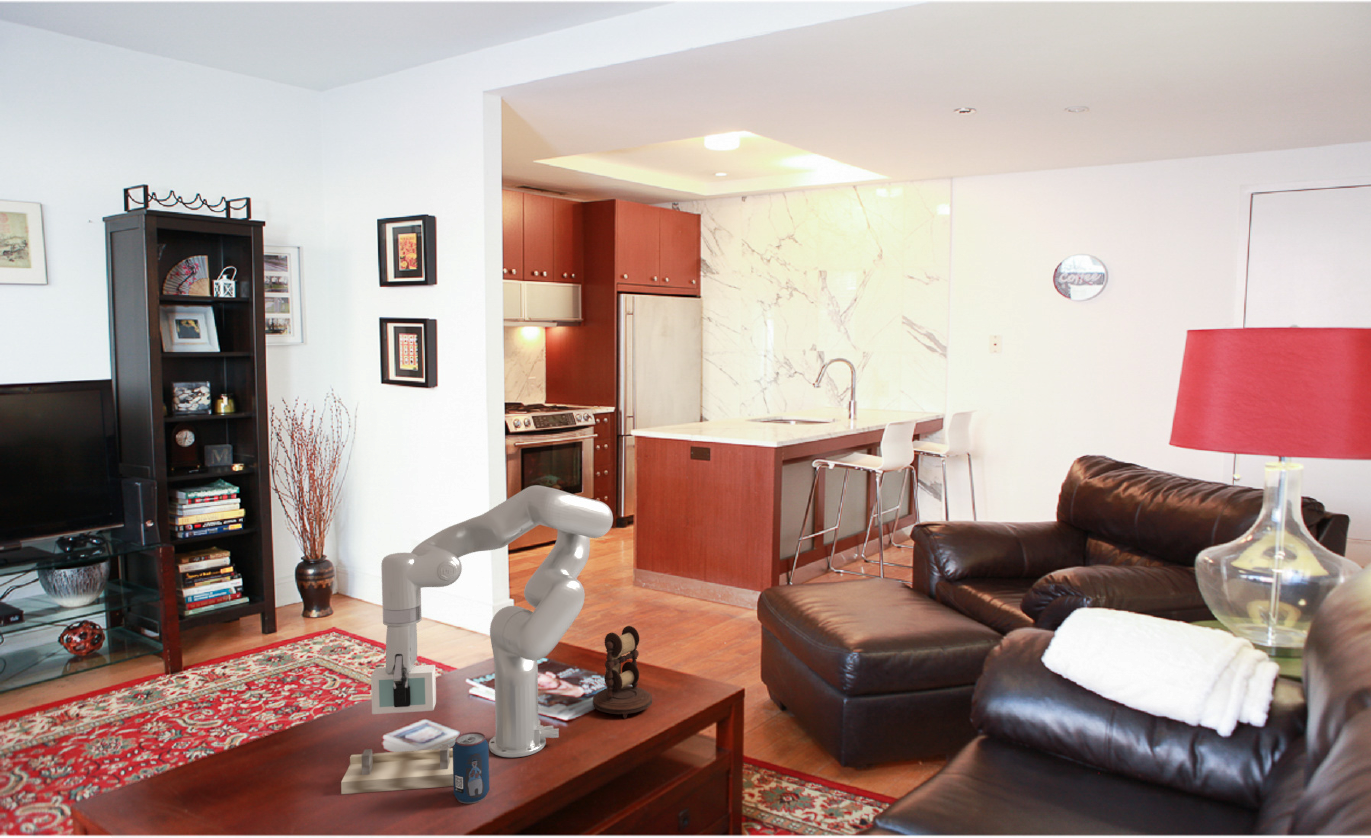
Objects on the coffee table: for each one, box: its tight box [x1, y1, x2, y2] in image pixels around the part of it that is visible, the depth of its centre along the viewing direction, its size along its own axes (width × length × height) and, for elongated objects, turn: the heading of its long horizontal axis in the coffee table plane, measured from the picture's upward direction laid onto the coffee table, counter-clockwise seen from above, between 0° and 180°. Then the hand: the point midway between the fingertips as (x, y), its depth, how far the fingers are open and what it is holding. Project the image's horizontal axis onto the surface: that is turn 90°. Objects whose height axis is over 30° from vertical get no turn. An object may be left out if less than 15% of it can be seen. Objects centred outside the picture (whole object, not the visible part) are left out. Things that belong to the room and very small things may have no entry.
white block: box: [370, 664, 437, 715], centre depth 180 cm, size 12×4×8 cm, turn 98°
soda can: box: [452, 731, 490, 805], centre depth 174 cm, size 7×7×12 cm
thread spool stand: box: [592, 625, 653, 720], centre depth 218 cm, size 15×15×20 cm
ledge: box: [340, 743, 453, 795], centre depth 182 cm, size 24×9×6 cm, turn 98°
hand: (404, 700), depth 180 cm, fingers closed on white block, 4 cm apart
